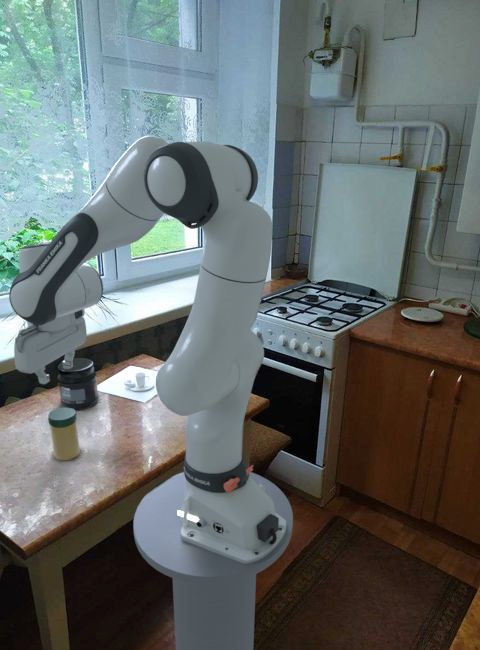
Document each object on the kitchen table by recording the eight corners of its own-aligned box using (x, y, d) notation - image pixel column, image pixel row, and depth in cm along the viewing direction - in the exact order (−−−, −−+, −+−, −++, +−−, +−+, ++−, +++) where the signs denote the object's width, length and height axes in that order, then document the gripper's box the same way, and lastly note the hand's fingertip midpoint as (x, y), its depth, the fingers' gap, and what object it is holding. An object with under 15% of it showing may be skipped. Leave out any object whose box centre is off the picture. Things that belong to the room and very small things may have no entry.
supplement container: (99, 392, 151) (96, 356, 146) (98, 408, 142) (94, 370, 137) (62, 395, 148) (58, 358, 144) (59, 412, 139) (53, 373, 134)
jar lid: (81, 419, 118) (81, 412, 117) (59, 430, 113) (58, 423, 113) (66, 411, 121) (65, 404, 120) (43, 421, 116) (42, 414, 116)
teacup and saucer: (120, 388, 154) (119, 376, 152) (135, 378, 160) (135, 367, 159) (143, 394, 151) (143, 382, 149) (158, 383, 157) (158, 372, 156)
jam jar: (84, 452, 121) (80, 414, 117) (63, 463, 117) (58, 424, 113) (70, 444, 124) (65, 407, 120) (49, 454, 120) (43, 416, 116)
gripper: (28, 334, 97) (37, 397, 103) (88, 306, 116) (94, 360, 121) (1, 331, 99) (12, 392, 104) (65, 303, 117) (71, 357, 122)
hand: (56, 375), depth 113 cm, fingers open, 7 cm apart
